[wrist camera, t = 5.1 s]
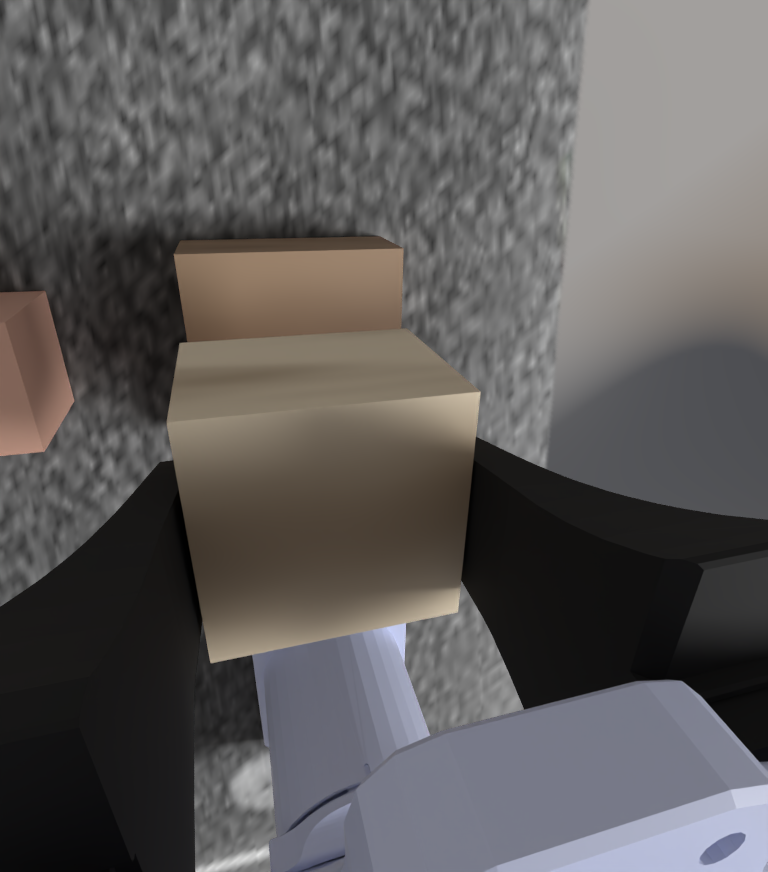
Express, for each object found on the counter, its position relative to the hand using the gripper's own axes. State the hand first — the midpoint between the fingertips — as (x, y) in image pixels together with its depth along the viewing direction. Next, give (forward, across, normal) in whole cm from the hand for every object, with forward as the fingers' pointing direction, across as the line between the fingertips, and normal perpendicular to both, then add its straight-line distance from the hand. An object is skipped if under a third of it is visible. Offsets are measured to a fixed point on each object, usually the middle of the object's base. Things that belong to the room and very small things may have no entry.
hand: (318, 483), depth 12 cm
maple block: (+2, 0, 0) cm, 2 cm away
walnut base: (+10, -1, 0) cm, 10 cm away
